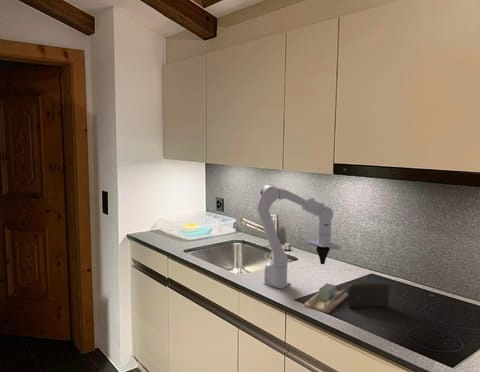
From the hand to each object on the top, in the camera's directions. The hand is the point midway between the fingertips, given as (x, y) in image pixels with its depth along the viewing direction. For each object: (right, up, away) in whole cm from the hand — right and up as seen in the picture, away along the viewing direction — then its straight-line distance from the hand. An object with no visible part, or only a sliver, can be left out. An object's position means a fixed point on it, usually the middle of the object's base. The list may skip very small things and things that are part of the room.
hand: (322, 263), depth 175 cm
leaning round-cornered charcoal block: (+13, -13, -22) cm, 28 cm away
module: (-1, -11, -16) cm, 19 cm away
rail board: (-2, -12, -16) cm, 20 cm away
